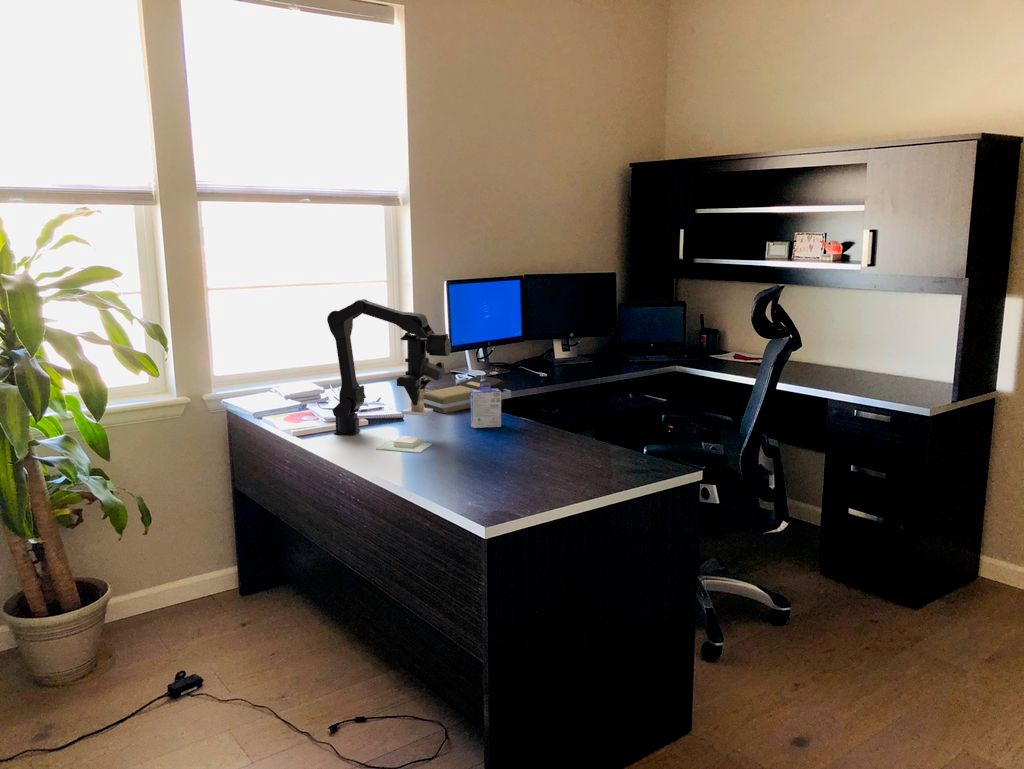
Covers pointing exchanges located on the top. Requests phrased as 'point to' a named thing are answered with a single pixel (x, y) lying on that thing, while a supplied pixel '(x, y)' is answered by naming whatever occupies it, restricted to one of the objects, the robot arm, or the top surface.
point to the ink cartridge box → (485, 407)
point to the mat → (416, 449)
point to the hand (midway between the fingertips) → (417, 404)
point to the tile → (407, 441)
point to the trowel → (418, 407)
